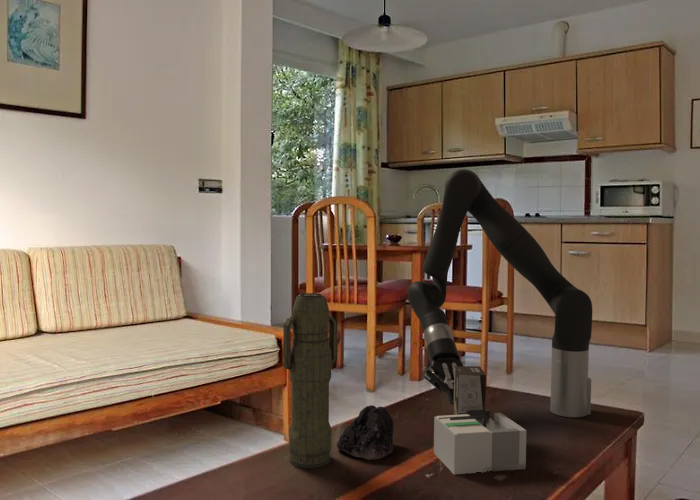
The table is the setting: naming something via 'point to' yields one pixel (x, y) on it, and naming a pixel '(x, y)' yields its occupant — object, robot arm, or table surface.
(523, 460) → the gauge housing
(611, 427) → the table surface
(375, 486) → the table surface
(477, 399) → the coffee box
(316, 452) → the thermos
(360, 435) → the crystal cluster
